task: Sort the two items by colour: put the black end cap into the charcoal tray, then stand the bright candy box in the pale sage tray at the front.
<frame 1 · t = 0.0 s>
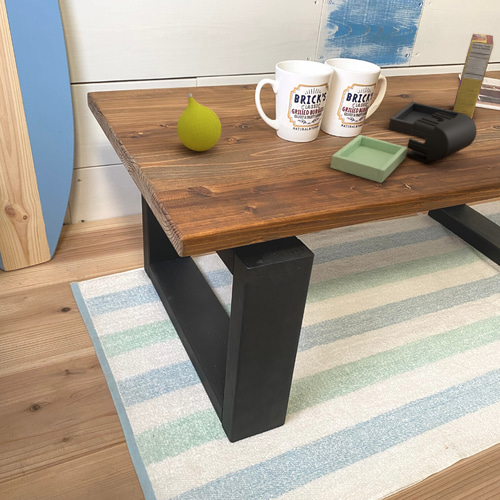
end cap: (436, 157, 88), on the table
sage tray: (368, 163, 84), on the table
candy box: (460, 114, 108), on the table
charcoal tray: (425, 126, 101), on the table
ornament: (199, 150, 84), on the table
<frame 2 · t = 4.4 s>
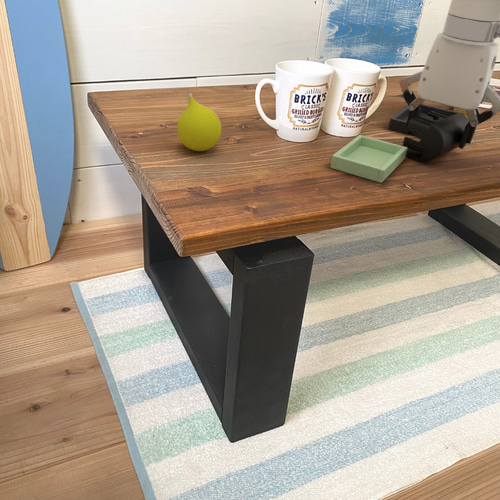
hand: (436, 138, 87), 3 cm above the table, tool pointing down, fingers closed on end cap, 8 cm apart
end cap: (431, 155, 89), on the table, touching gripper
everything else where it was.
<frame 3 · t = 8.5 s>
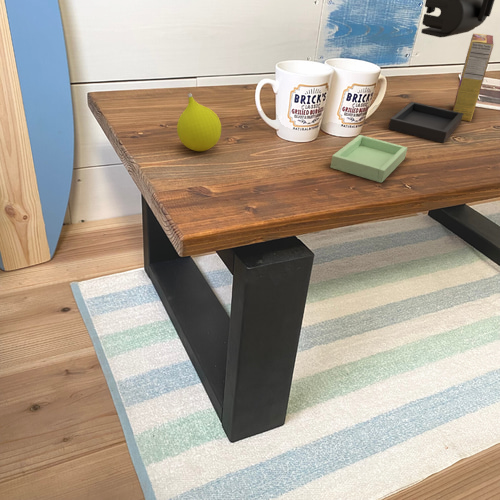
hand: (455, 16, 89), 20 cm above the table, tool pointing down, fingers closed on end cap, 8 cm apart
end cap: (450, 35, 90), point 17 cm above the table, touching gripper
everything else where it was.
when the fingers open (4 cm above the table, at t = 12.7 s): end cap stays where it is, resting on charcoal tray.
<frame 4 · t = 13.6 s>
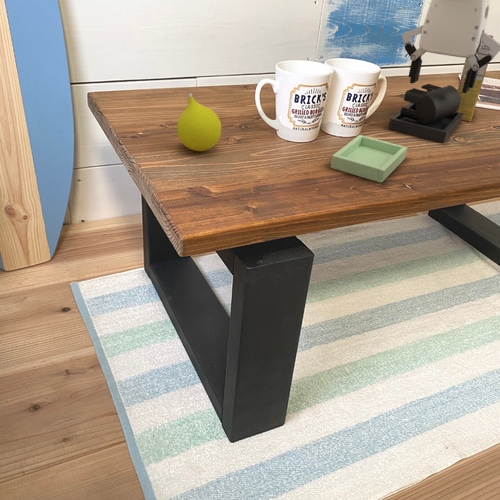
hand: (439, 86, 96), 8 cm above the table, tool pointing down, fingers open, 9 cm apart
end cap: (426, 124, 100), resting on charcoal tray
everything else where it was.
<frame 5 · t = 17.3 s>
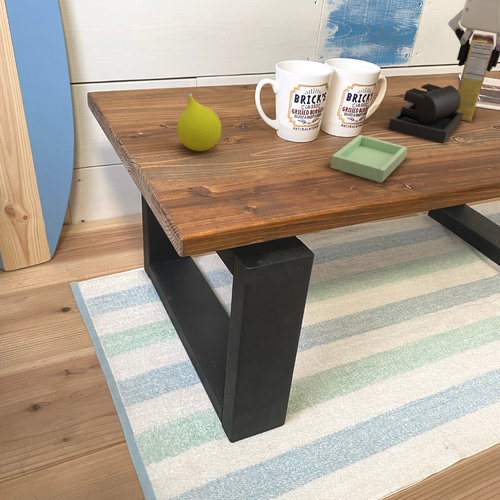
hand: (475, 66, 103), 10 cm above the table, tool pointing down, fingers closed on candy box, 4 cm apart
candy box: (460, 114, 108), on the table, touching gripper
everything else where it was.
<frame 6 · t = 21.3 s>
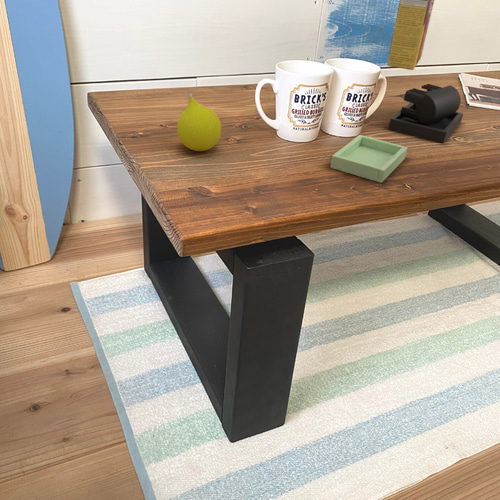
candy box: (403, 63, 78), point 15 cm above the table, touching gripper
everything else where it was.
when the fingers open (10 cm above the table, at t = 25.4 s): candy box stays where it is, resting on sage tray.
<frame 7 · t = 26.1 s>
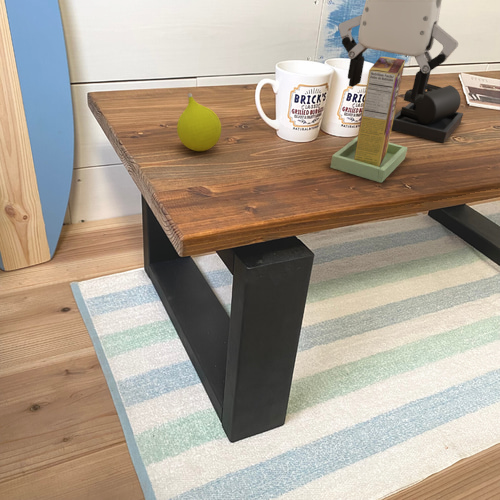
hand: (384, 91, 77), 12 cm above the table, tool pointing down, fingers open, 9 cm apart
candy box: (369, 160, 84), resting on sage tray
everything else where it was.
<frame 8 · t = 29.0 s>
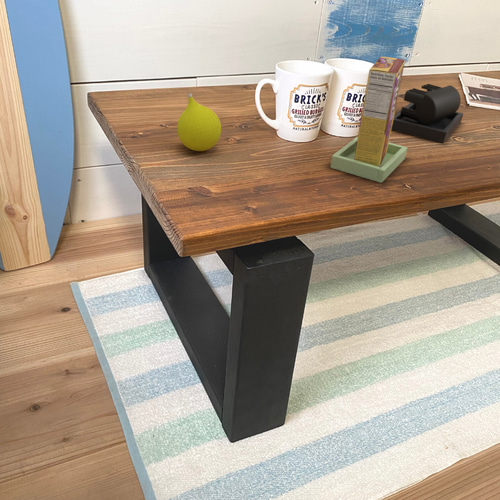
nothing on the table moved.
at the end: end cap inside the target area in the charcoal tray (0.1 cm from its centre), point 0.4 cm above the charcoal tray's base; candy box 0.0 cm off-centre in the sage tray, point 0.4 cm above the sage tray's base; candy box tilted 0° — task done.
